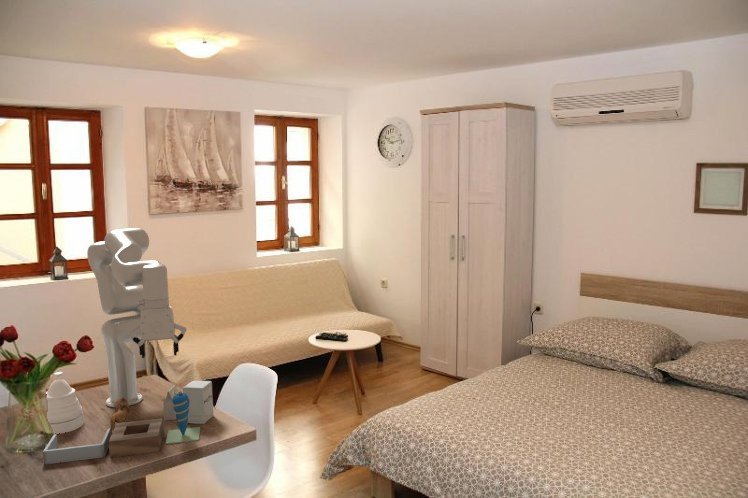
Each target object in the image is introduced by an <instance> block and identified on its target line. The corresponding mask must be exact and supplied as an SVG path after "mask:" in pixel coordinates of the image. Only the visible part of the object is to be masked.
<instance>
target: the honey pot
mask: <svg viewBox="0 0 748 498" xmlns="http://www.w3.org/2000/svg"><path fill="white" fill-rule="evenodd" d="M63 374H64V373H63V371H58V372H54V378H56V379H54V380H52V383H50V385H49V387H48V389H47V391H45V392H46V394H47V400H48V412H47V419H48V422H49V423H50V425H51V427H52V429H53V431H54V432H55V433H56V434H57V435H58V434H59V433H60V434H65V432H66V433H68V432H72V431H76V430H77V429H79V428H81V427H82V426H83V425H84V422H85V421H84V411H83V407H82V405H81V403H80V401H79V399H78V397H77V395H76V389H75V388H73V387H71V386H70V384H69V383H68V382H67V381H66V380H65V379H64V378H62V377H63Z"/></svg>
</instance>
